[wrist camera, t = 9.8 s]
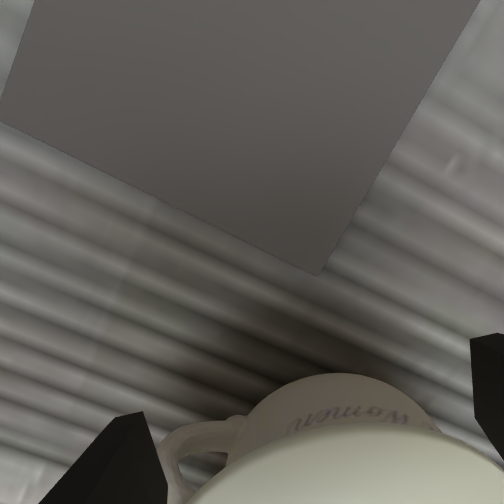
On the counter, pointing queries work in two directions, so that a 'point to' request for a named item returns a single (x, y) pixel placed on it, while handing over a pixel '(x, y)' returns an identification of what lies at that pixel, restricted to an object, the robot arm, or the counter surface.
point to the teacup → (288, 420)
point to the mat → (234, 102)
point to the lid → (359, 469)
